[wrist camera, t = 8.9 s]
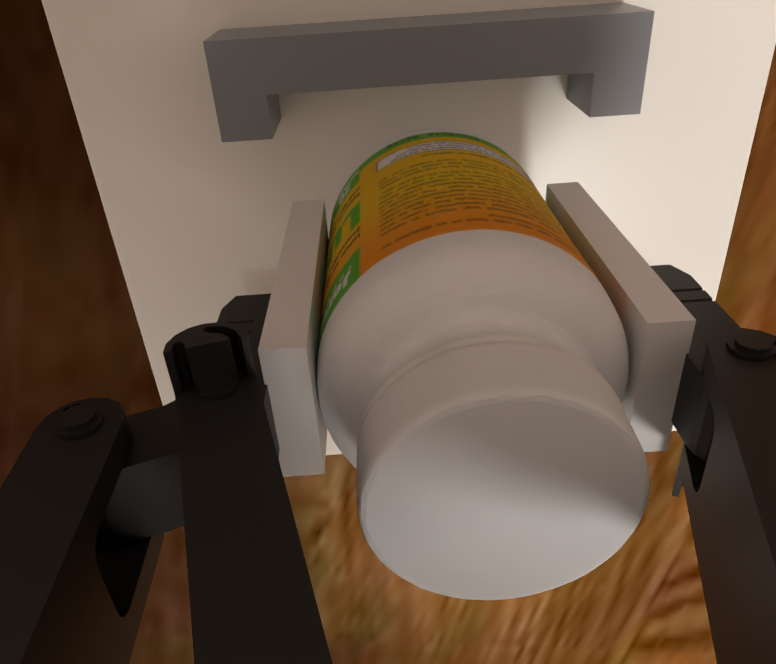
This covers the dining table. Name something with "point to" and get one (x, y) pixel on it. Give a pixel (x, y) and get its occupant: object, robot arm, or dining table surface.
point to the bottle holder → (398, 121)
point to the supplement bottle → (474, 374)
